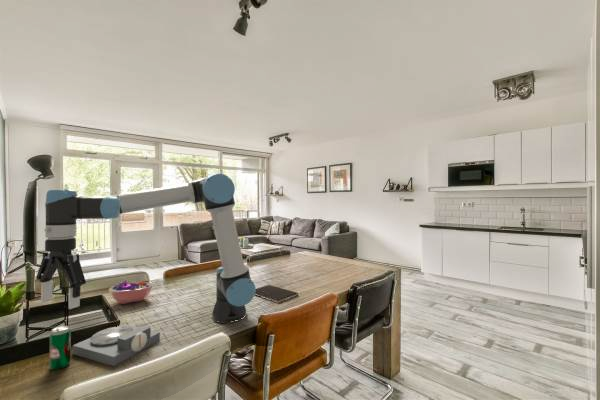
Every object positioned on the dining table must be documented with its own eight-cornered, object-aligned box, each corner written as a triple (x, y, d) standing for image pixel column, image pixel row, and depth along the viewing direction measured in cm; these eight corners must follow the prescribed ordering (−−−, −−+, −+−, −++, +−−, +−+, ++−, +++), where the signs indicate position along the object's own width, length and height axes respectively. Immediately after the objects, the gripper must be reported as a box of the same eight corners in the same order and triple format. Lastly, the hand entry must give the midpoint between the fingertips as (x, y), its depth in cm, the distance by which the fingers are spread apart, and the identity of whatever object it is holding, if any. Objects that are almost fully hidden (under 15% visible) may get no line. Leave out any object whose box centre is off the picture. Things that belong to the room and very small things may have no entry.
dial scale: (160, 340, 107) (161, 322, 107) (115, 366, 90) (115, 345, 90) (121, 331, 114) (121, 315, 114) (72, 354, 97) (72, 334, 97)
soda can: (45, 368, 88) (46, 330, 88) (64, 360, 93) (64, 324, 93) (55, 372, 87) (56, 333, 87) (74, 363, 91) (74, 326, 91)
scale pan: (141, 331, 107) (141, 329, 107) (107, 348, 95) (107, 345, 95) (116, 326, 111) (116, 323, 111) (81, 341, 99) (81, 339, 99)
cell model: (145, 307, 140) (145, 284, 140) (101, 309, 136) (101, 286, 136) (157, 295, 156) (157, 275, 156) (117, 297, 153) (117, 276, 153)
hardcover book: (278, 304, 145) (278, 300, 145) (249, 294, 160) (249, 290, 160) (298, 296, 158) (298, 292, 158) (269, 288, 172) (269, 284, 172)
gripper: (22, 237, 91) (21, 303, 91) (73, 241, 82) (72, 314, 82) (50, 234, 98) (49, 295, 98) (99, 238, 89) (99, 305, 89)
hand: (60, 304), depth 90 cm, fingers open, 13 cm apart
